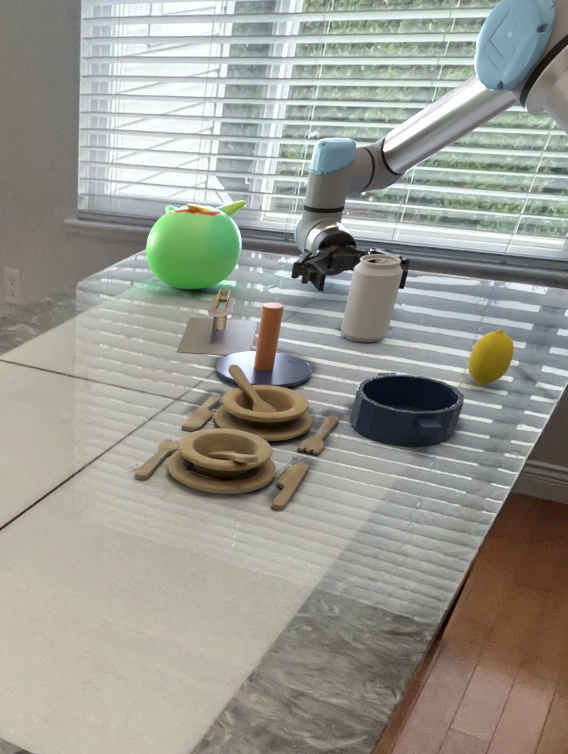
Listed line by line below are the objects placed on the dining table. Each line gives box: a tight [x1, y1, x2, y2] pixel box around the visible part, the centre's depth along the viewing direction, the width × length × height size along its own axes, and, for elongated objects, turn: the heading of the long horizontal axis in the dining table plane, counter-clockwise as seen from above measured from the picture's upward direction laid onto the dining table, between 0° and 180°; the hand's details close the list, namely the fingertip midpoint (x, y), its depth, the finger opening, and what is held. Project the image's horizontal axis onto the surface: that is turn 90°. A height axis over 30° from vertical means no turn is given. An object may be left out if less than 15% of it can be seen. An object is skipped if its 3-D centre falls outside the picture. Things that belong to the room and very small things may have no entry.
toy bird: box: [145, 200, 247, 290], centre depth 161 cm, size 18×17×15 cm
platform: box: [176, 288, 258, 356], centre depth 142 cm, size 12×18×7 cm, turn 165°
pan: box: [349, 371, 465, 448], centre depth 114 cm, size 13×19×4 cm
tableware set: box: [134, 365, 340, 511], centre depth 110 cm, size 30×20×6 cm, turn 151°
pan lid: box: [215, 301, 313, 388], centre depth 127 cm, size 14×14×10 cm
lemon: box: [467, 329, 514, 387], centre depth 122 cm, size 6×6×8 cm
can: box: [340, 254, 403, 343], centre depth 138 cm, size 8×8×12 cm
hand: (363, 281), depth 142 cm, fingers open, 13 cm apart
